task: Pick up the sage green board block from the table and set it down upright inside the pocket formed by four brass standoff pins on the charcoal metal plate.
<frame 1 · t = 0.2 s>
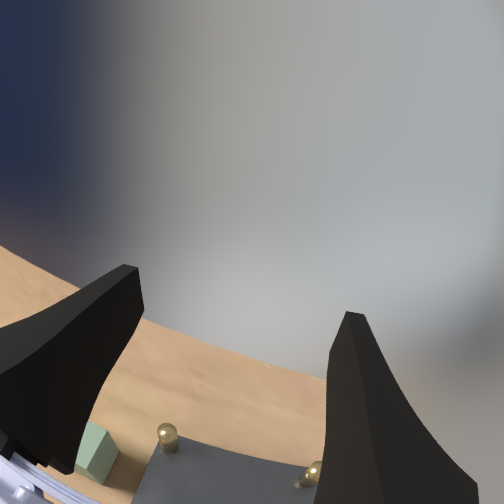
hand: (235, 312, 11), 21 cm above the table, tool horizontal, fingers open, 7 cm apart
board block: (74, 449, 21), on the table
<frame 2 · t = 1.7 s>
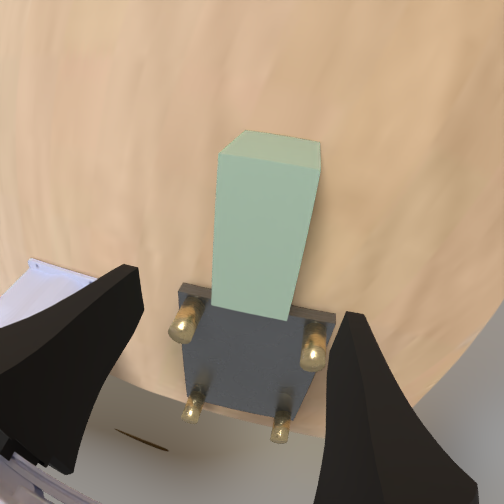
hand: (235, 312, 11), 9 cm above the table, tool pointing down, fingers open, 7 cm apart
board block: (272, 202, 18), on the table
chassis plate: (248, 361, 26), on the table
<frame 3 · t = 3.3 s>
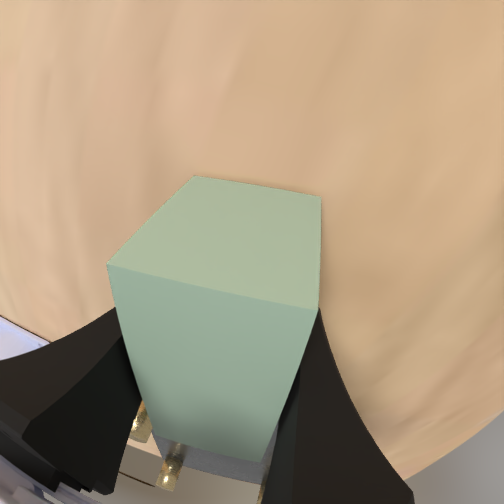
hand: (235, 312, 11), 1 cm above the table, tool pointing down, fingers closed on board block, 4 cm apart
board block: (244, 286, 12), on the table, touching gripper
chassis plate: (227, 439, 20), on the table
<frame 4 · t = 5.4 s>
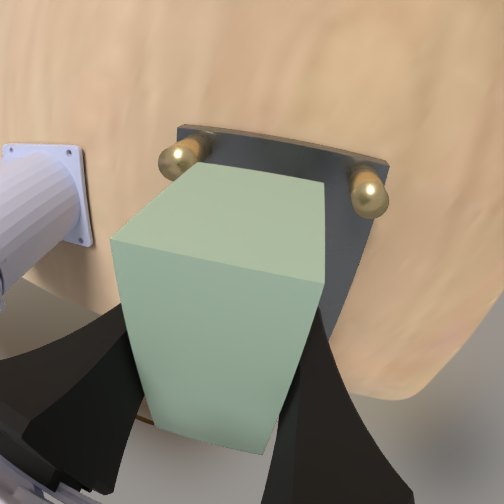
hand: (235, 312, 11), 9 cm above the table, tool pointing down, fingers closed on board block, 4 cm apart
board block: (246, 275, 12), point 7 cm above the table, touching gripper
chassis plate: (265, 253, 20), on the table
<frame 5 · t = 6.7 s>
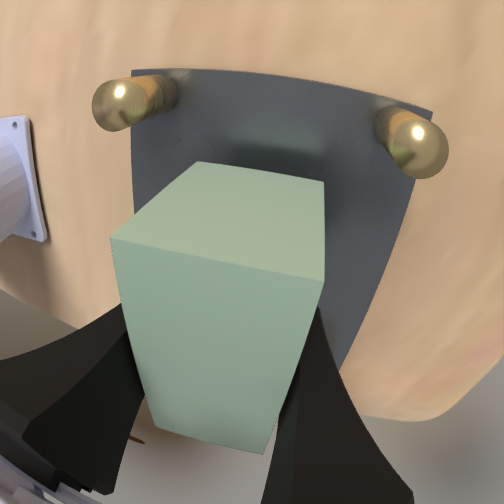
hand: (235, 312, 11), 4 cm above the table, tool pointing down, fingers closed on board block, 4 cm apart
board block: (246, 274, 12), point 3 cm above the table, touching gripper
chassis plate: (258, 244, 14), on the table
when the fingers open (3 cm above the table, at t = 7.8 s): board block stays where it is, resting on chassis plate.
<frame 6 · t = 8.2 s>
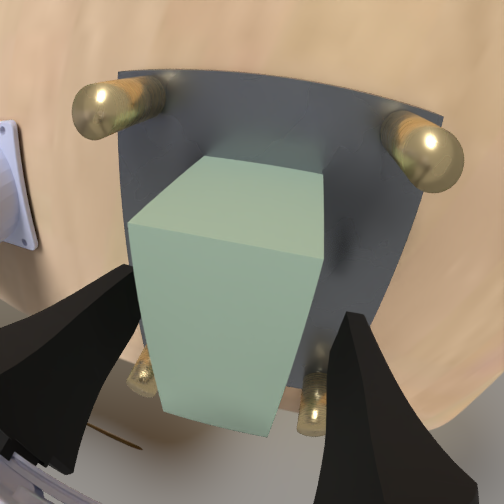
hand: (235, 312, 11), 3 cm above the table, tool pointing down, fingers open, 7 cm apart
board block: (250, 263, 12), point 1 cm above the table, touching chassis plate
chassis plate: (254, 257, 13), on the table
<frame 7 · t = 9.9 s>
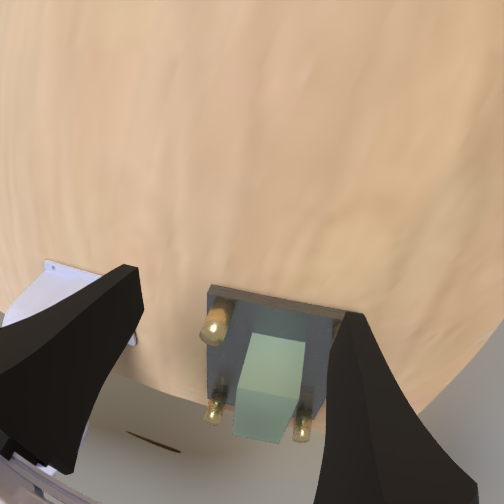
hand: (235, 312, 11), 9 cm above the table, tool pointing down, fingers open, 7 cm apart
board block: (271, 368, 25), point 1 cm above the table, touching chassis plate
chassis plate: (272, 362, 26), on the table
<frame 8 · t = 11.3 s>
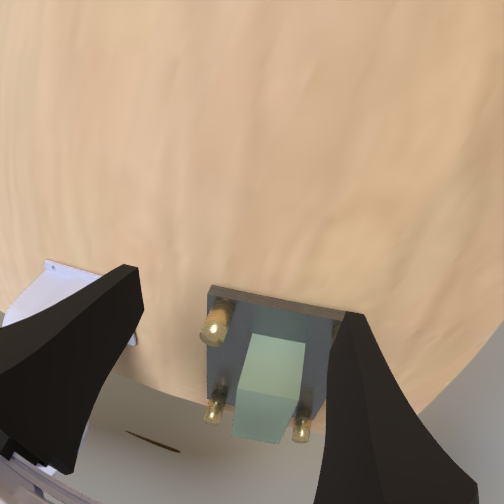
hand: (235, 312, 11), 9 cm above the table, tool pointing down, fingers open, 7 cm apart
board block: (271, 369, 25), point 1 cm above the table, touching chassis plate
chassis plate: (272, 362, 26), on the table
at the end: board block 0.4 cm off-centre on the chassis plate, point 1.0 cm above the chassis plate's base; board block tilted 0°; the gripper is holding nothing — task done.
